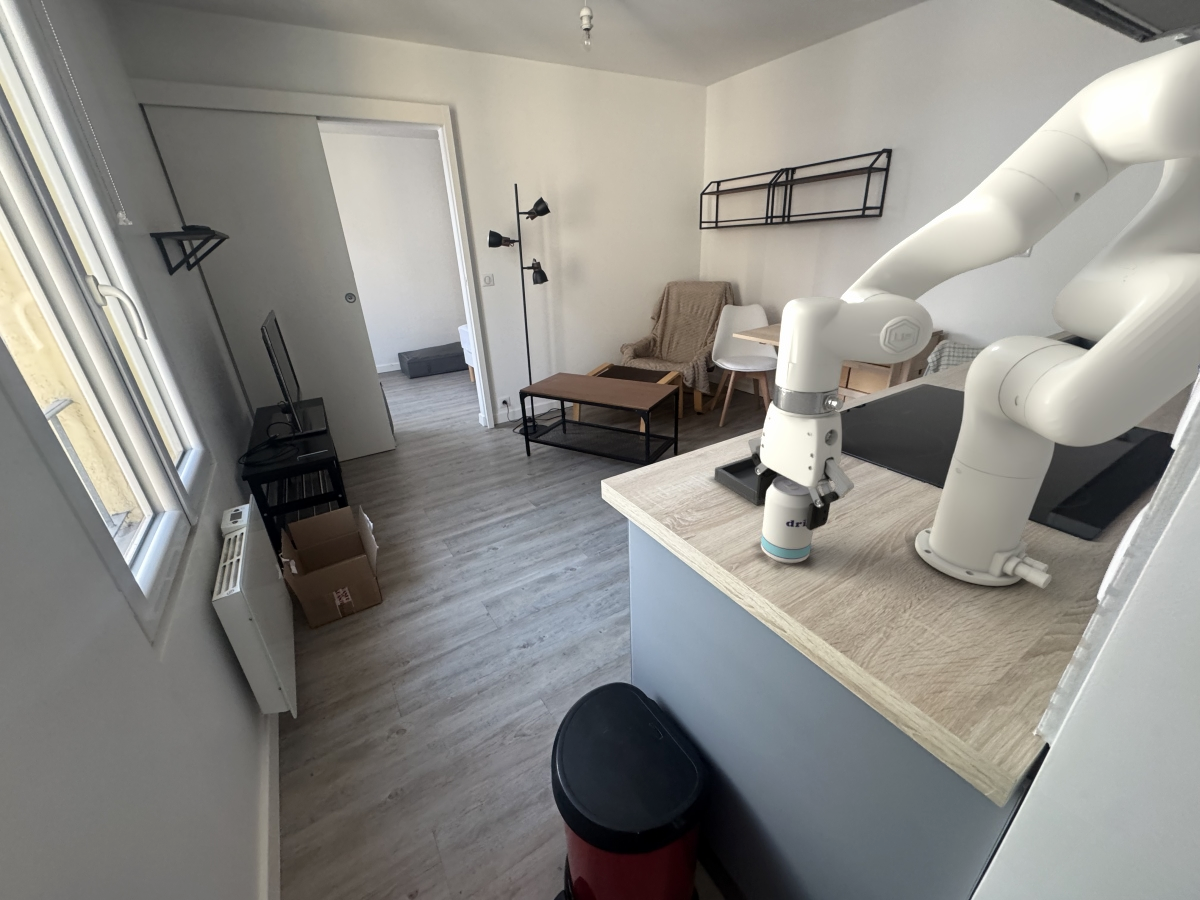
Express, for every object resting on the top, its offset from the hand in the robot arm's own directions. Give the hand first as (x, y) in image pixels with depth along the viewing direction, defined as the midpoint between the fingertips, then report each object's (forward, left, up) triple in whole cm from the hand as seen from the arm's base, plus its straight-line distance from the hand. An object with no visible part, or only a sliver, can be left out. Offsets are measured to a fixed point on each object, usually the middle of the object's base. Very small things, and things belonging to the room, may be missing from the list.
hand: (789, 510), depth 68 cm
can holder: (+18, -12, -8) cm, 23 cm away
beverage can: (0, 0, -8) cm, 8 cm away
